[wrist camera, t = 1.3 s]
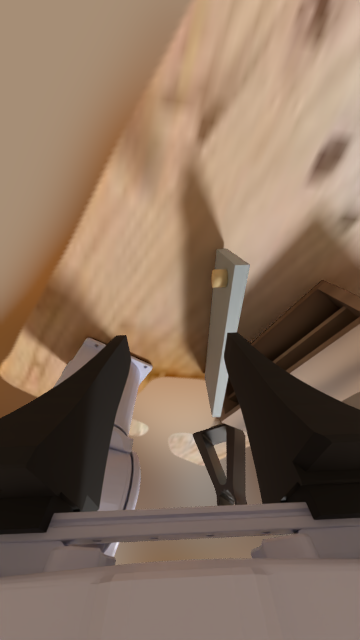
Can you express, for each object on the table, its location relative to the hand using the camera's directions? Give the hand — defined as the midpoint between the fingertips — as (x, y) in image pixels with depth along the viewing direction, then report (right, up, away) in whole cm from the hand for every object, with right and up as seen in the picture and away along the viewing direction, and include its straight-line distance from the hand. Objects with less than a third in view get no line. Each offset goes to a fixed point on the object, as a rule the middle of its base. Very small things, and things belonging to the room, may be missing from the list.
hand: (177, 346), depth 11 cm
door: (+4, +1, +10) cm, 11 cm away
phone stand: (+8, -21, +25) cm, 34 cm away
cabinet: (+14, -3, +13) cm, 20 cm away
